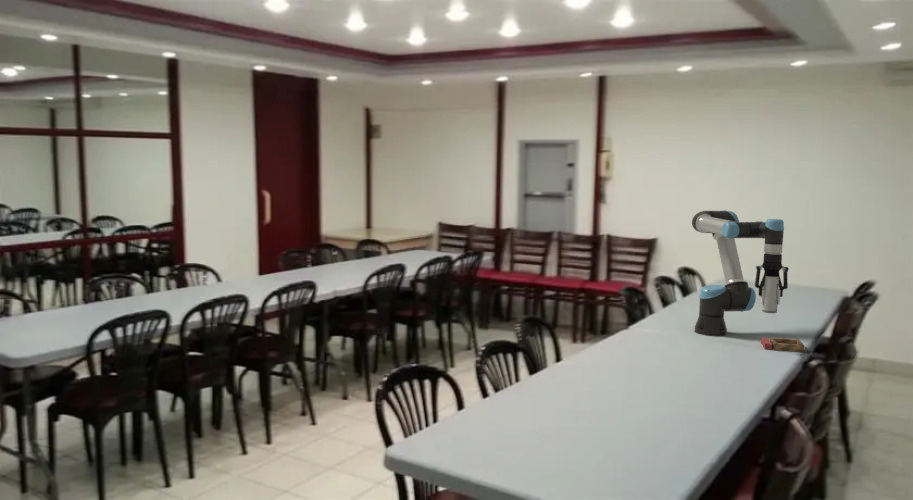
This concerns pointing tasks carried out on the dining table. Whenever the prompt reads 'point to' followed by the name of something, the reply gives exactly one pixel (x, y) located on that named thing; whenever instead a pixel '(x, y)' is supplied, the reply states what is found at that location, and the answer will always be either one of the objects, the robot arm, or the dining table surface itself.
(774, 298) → the travel mug
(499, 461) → the dining table surface
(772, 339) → the box
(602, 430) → the dining table surface
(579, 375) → the dining table surface
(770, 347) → the door edge strip
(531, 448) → the dining table surface
